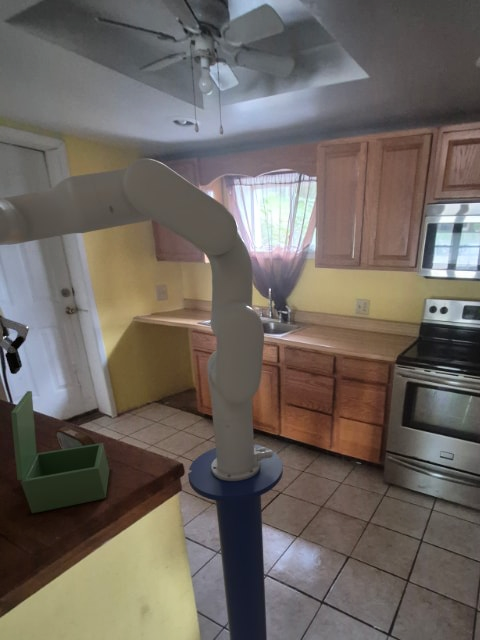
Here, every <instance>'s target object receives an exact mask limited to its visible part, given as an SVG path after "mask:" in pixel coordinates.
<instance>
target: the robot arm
mask: <svg viewBox="0 0 480 640" xmlns="http://www.w3.org/2000/svg"><path fill="white" fill-rule="evenodd" d="M149 221H155V222H156V223H157V224H159V225H161V226H163V227H164V228H166V229H167V230H169V231H171V232H172V233H174V234H176V235H177V236H178V237H179V238H182V239H183V240H185V241H187V242H188V243H190V244H191V245H192V247H194V248H195V249H196V250H198V251H199V252H202V253H203V254H204V255H205V257H206V258H207V260H208V262H209V265H210V270H211V308H210V309H211V311H210V313H211V314H210V328H211V331H212V333H213V335H214V336H215V337H216V348H215V350H214V351H212V353H211V354H210V356H209V357H208V360H207V364H206V375H207V383H208V386H209V395H210V404H211V415H212V424H213V435H214V446H215V448H216V457H217V458H216V459H215V460H214V461H213V462H212V465H211V470H212V473H213V475H214V476H215V477H217V478H219V479H222V480H225V481H240V480H245V479H248V478H250V477H252V476H254V475H255V474H256V473H257V472H258V471H259V470H260V468H261V459H264V458H271V457H273V453H272V451H273V450H272V449H270V450H268V451H265V448H264V447H265V446H263V448H259V449H256V448H254V445H255V441H254V440H255V439H254V421H253V419H254V418H253V399H252V398H254V396H255V395H256V394H257V392H258V391H259V388H260V386H261V385H260V384H261V381H262V372H263V362H264V361H263V360H264V346H265V330H264V324H263V321H262V319H261V317H260V315H259V314H258V312H256V310H255V309H253V295H254V294H253V293H254V292H253V290H254V289H253V287H254V286H253V285H254V284H253V281H254V274H253V272H254V271H253V263H252V257H251V255H250V251H249V249H248V247H247V245H246V243H245V241H244V239H243V237H242V236H241V234H240V233H239V228H238V223H237V220H236V218H235V217H234V215H233V213H232V212H231V211H230V209H228V207H226V205H224V204H222V203H221V202H220V201H218V200H217V199H215V197H214V198H213V197H212V196H211V195H210V194H208V193H206V192H205V191H204V190H202V189H201V188H199V187H197V186H196V185H195V184H193V183H192V182H190V181H189V180H187V179H186V178H184V177H183V176H182V175H180V174H179V173H178V172H176V171H174V170H173V169H171V168H170V167H169V166H167V165H166V164H164V163H162V162H160V161H158V160H157V159H152V158H147V157H146V158H140V159H139V158H138V159H136V160H135V161H133V162H131V164H129V165H128V167H126V168H119V169H113V170H108V171H100V172H94V173H93V172H92V173H87V174H78V175H72V176H68V177H66V178H63V179H62V180H61V181H60V182H58V183H57V184H56V185H54V186H52V187H50V188H47V189H44V190H40V191H36V192H30V193H25V194H17V195H12V196H4V197H0V246H7V245H8V246H9V245H18V244H22V243H28V242H33V241H38V240H44V239H50V238H56V237H61V236H65V235H73V234H85V233H90V232H96V231H100V230H107V229H112V228H115V227H121V226H126V225H133V224H139V223H144V222H149ZM10 330H13V331H16V332H17V335H16V337H15V339H14V340H13V339H12V338H10V337H9V336H10ZM29 330H30V327H29V325H27V324H24V323H20V322H17V321H14V320H12V319H9V318H6V316H5V315H4V312H3V310H2V307H1V306H0V347H1V348H2V349H4V350H5V351H6V353H5V354H4V356H5V359H6V363H7V366H8V369H9V372H10V374H11V375H16V374H17V373H18V372H19V371H20V370H21V368H22V367H23V362H22V359H21V356H20V352H19V349H20V347H21V346H22V345H23V344H24V343H25V341H26V340H27V337H28V333H29Z"/></svg>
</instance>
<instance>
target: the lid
mask: <svg viewBox="0 0 480 640" xmlns="http://www.w3.org/2000/svg"><path fill="white" fill-rule="evenodd" d="M10 415H11V416H10V417H11V423H12V424H11V427H12V436H13V446H14V456H15V466H16V467H15V468H16V476H17V478H16V479H17V481H22V480H23V478H24V476H25V474H26V472H27V470H28V468H29V466H30V464H31V462H32V460H33V458H34V456H35V454H37V441H36V428H35V427H36V426H35V416H34V415H35V413H34V401H33V392H32V391H31V390H27V391H26V392H25V393H24V395H22V398H21V399H20V400H19V401H18V403H17V404H16V405H15V407H14V408H13V409H12V411H11V412H10Z"/></svg>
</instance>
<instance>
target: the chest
mask: <svg viewBox="0 0 480 640" xmlns="http://www.w3.org/2000/svg"><path fill="white" fill-rule="evenodd" d="M109 477H110V466H109V462H108V459H107V454H106V449H105V446H104V443H103V442H100V443H96V444H93V445H87V446H81V447H74V448H68V449H57V450H51V451H44V452H43V451H42V452H36V454H35V456H34V458H33V460H32V462H31V464H30V466H29V468H28V470H27V472H26V474H25V476H24V478H23V480H20V483H21V486H22V490H23V492H24V495H25V497H26V501H27V503H28V506H29V510H30V513H31V514H36V513H40V512H46V511H51V510H56V509H60V508H65V507H71V506H76V505H80V504H84V503H85V504H86V503H89V502H94V501H100V500H104V499H106V497H107V490H108V484H109Z"/></svg>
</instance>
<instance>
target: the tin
mask: <svg viewBox="0 0 480 640" xmlns="http://www.w3.org/2000/svg"><path fill="white" fill-rule="evenodd" d="M54 434H55V437H56V440H57V442H58V446H59V447H60V450H62V449H68V448H74V447H81V446H87V445H93V444H97V442H96V441H95V439H94V438H93V437H92V436H91V435H90V434H89V433H87V432H85V431H82V430H80V429H78V428H75V427H74V426H71V425H68V424H66V425H64V426H63V427H60V428H59V429H57V430H56V431H55V433H54Z"/></svg>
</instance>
